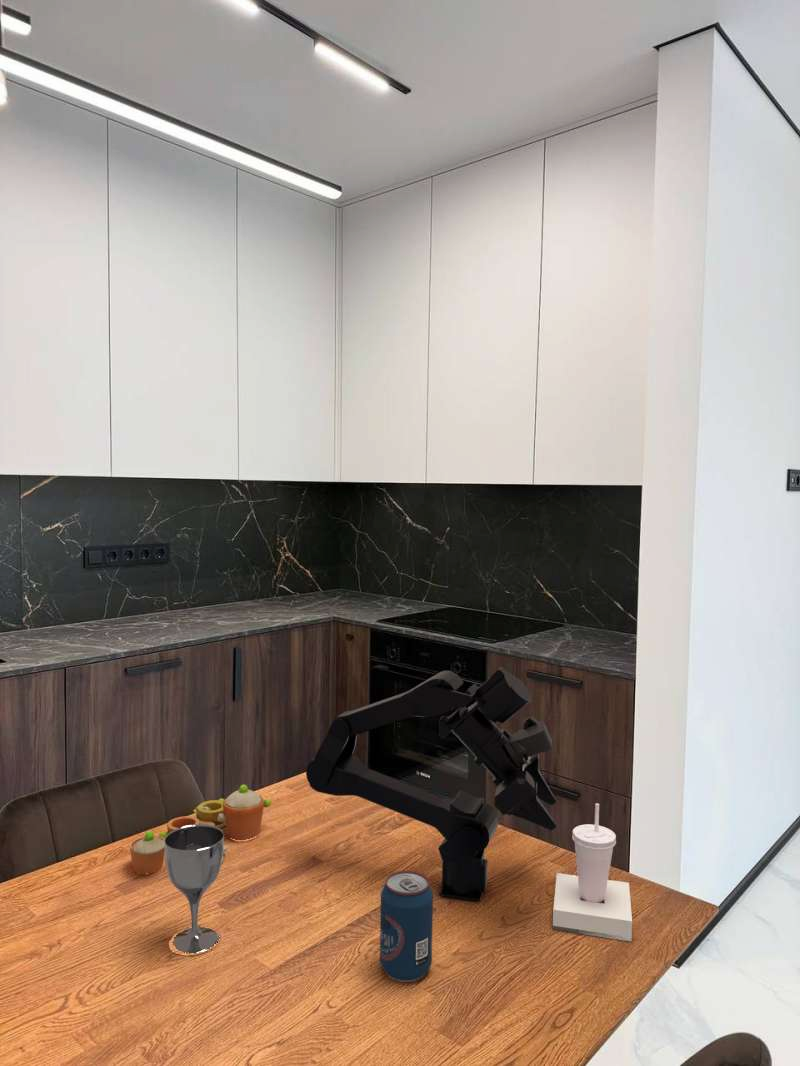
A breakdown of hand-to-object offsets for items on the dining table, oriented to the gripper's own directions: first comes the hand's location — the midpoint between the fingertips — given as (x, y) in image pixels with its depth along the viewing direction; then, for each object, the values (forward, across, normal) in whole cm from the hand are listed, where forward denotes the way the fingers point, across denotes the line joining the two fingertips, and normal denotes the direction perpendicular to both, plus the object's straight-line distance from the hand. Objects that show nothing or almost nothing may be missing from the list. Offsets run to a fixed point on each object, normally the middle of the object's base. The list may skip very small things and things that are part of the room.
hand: (554, 815), depth 119 cm
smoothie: (+12, -3, +4) cm, 13 cm away
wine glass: (-25, -22, +44) cm, 56 cm away
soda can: (-4, -22, +23) cm, 32 cm away
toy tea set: (-33, +4, +53) cm, 62 cm away
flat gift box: (+14, -3, +5) cm, 15 cm away
